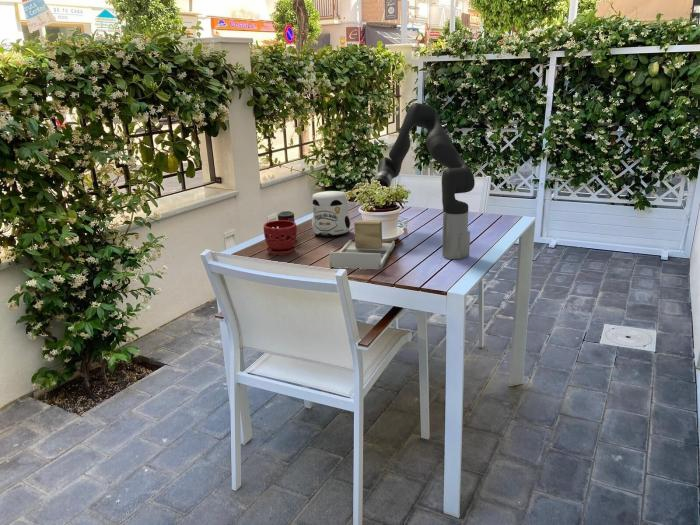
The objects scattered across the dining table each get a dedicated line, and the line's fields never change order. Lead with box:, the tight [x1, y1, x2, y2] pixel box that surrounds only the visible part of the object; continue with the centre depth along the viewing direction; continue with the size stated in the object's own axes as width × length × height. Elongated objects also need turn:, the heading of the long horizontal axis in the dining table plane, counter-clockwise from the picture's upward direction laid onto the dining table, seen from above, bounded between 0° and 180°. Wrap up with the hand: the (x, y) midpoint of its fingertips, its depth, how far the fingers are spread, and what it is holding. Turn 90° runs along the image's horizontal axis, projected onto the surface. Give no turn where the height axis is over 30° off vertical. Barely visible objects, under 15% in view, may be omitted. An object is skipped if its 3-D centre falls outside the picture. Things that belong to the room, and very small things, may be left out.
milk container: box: [311, 190, 352, 238], centre depth 239 cm, size 17×17×18 cm
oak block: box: [354, 219, 383, 248], centre depth 215 cm, size 5×10×10 cm, turn 76°
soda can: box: [277, 210, 296, 228], centre depth 233 cm, size 7×7×12 cm
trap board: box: [328, 239, 396, 271], centre depth 208 cm, size 30×19×6 cm, turn 166°
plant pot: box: [263, 219, 298, 256], centre depth 217 cm, size 13×13×12 cm
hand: (373, 199), depth 220 cm, fingers open, 8 cm apart
